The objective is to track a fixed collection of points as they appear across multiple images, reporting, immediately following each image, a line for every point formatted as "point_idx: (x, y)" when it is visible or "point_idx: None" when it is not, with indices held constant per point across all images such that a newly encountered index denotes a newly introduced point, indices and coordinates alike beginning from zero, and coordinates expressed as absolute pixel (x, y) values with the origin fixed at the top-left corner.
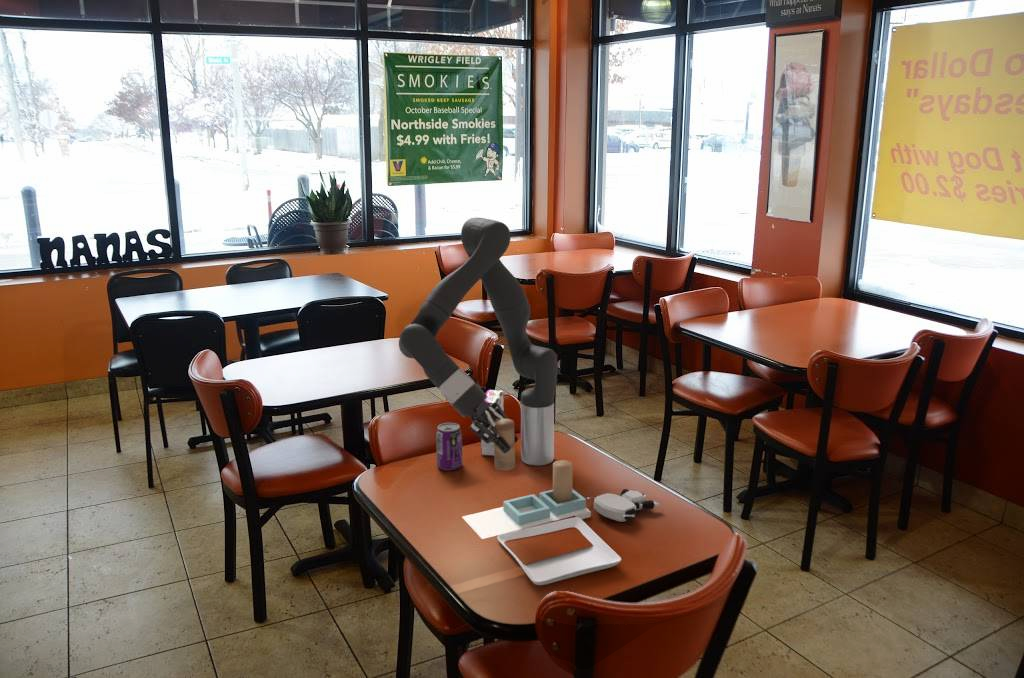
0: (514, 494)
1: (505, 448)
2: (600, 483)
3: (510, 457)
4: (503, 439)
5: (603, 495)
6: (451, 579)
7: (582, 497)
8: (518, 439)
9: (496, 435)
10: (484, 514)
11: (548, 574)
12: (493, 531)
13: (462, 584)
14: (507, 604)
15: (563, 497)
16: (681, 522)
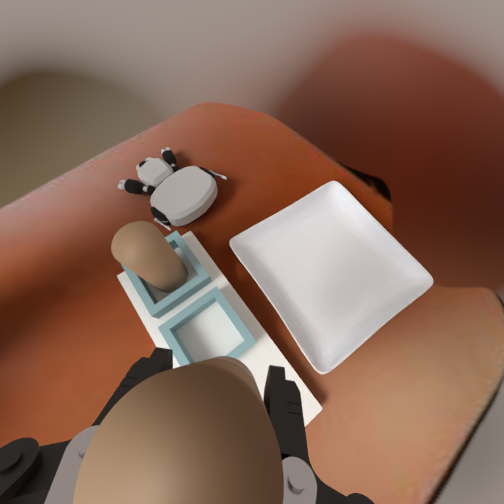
0: (105, 383)
1: (297, 392)
2: (73, 229)
3: (247, 370)
4: (280, 421)
5: (161, 205)
6: (448, 438)
7: (170, 236)
8: (158, 348)
9: (315, 492)
10: None
11: (378, 272)
12: None
13: (452, 410)
14: (465, 319)
15: (181, 264)
16: (198, 135)
